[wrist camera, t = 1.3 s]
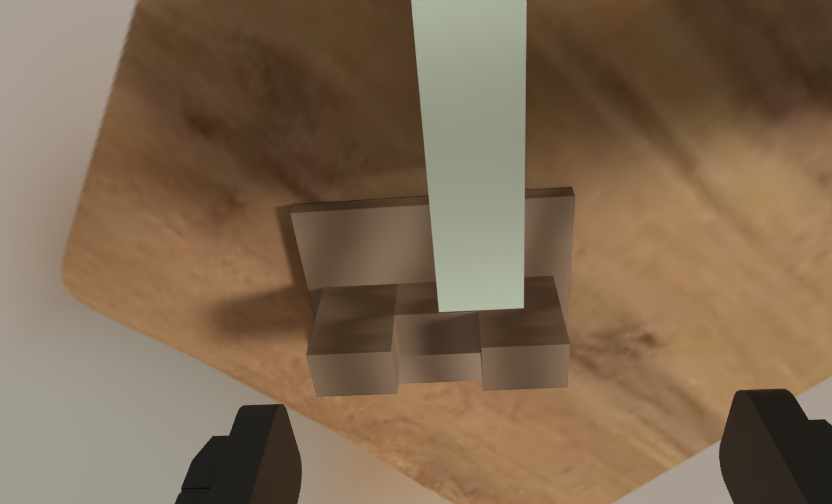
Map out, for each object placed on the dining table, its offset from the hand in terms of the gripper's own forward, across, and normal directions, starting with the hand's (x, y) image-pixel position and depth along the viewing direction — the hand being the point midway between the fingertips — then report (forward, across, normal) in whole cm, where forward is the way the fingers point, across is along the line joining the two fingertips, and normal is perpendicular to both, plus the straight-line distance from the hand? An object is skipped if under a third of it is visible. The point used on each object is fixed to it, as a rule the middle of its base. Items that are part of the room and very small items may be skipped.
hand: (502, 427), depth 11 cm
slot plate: (+24, +2, +15) cm, 28 cm away
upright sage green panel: (+24, 0, 0) cm, 24 cm away
